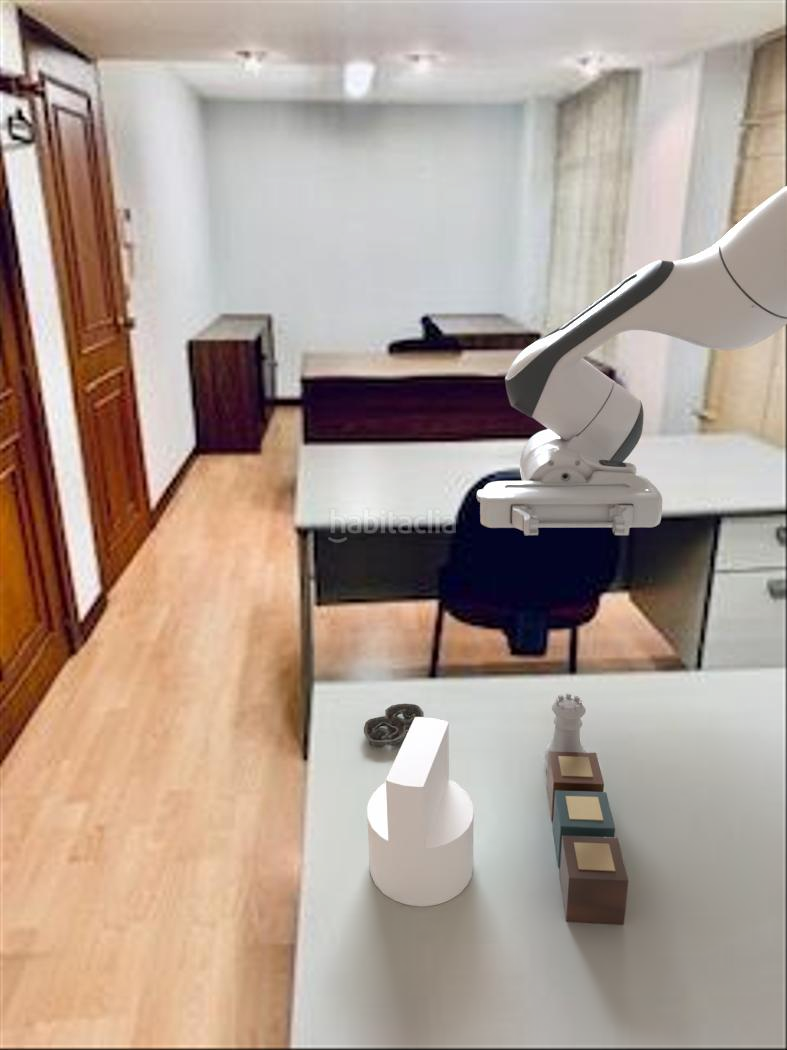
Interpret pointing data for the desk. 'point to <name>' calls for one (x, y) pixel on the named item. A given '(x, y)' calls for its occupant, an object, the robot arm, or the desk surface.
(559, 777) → the block
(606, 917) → the block
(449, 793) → the cylinder with rectangular tab
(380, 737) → the corroded twin loop
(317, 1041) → the desk surface
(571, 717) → the rook chess piece
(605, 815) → the block middle
